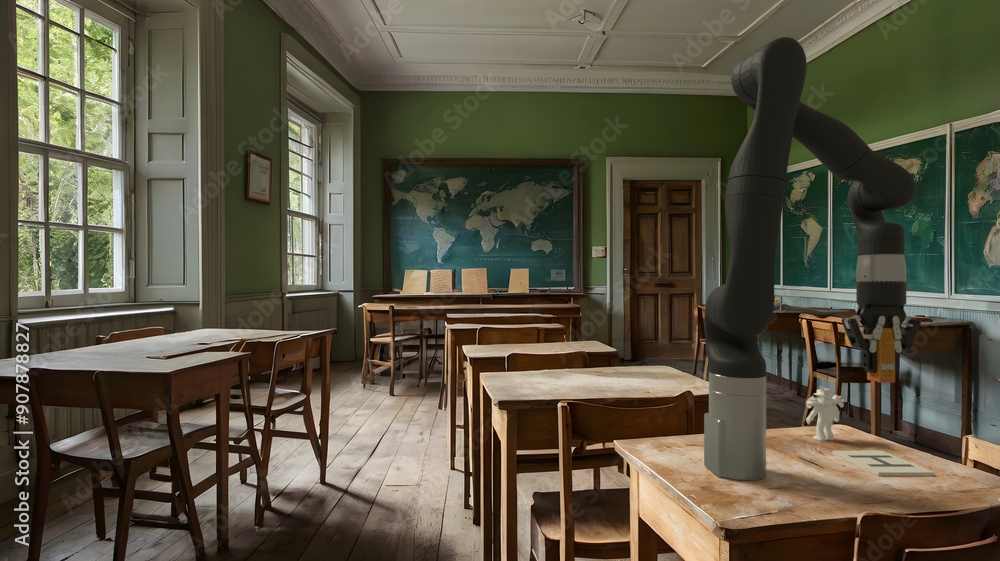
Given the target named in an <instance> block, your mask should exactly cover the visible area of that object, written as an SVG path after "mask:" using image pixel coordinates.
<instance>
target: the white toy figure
mask: <svg viewBox="0 0 1000 561" xmlns="http://www.w3.org/2000/svg"><path fill="white" fill-rule="evenodd" d="M831 390H832V389H831V388H826V387H824V385H818V389H816V392H815V393H813V394H812V395H811V396H810V398H808V399H807V400H805V405H806V407H807V409H811V408H813V409H812V410H811V411H810V413H809V414H808V416H807V417H806V418H805V421H806V423H807V425H810V424H811V422H812V421H814V420H815V418H814V417H816V416H817V421H816V428H815V431H816V435H813V440H816V441H821V442H827V441H834V433H833V431H832V425H833V421H834V422H835V423H839V421H840V410H839V408H838V406H839V407H840V408H844V406H845V403H844V402H845V399H843V398H842V395H838V394H835V393H832V391H831ZM814 395H815V396H814ZM837 405H838V406H837Z"/></svg>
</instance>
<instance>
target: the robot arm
mask: <svg viewBox="0 0 1000 561" xmlns="http://www.w3.org/2000/svg"><path fill="white" fill-rule="evenodd" d="M807 64H808V63H807V56H806V52H805V50H804V48H803V46H802V45H801V43H800V42H799V41H798V40H796V38H792V37H790V36H789V37H787V36H781V37H777V38H776V39H773V40H770V41H769V42H767V43H765V44H764V45H761V46H760V47H759V48H758V49H755V50H754V51H752V52H751V53H749V54H748V55H747V56H745V57H742V59H740V60H739V61H738V62H737V63H736V65H735V66H734V67H733V70H732V73H731V76H730V77H731V78H730V82H731V86H732V87H731V88H732V90H733V91H734V93H735V95H736V96H737V97H738V99H740V100H741V101H742V102H743V104H746V105H747V106H748V107H749V108H751V109H752V110H753V111H754V116H753V118H752V122H751V125H750V127H749V130H748V132H747V133H746V136H745V138H744V140H743V142H742V143H741V145H740V147H739V149H738V151H737V153H736V155H735V158H734V160H733V162H732V164H731V167H730V169H729V174H728V180H727V185H726V192H725V205H724V213H725V220H726V227H727V228H726V229H727V232H728V233H727V234H728V239H729V248H730V255H729V256H730V257H729V264H728V267H727V268H728V269H727V275H726V280H725V284H722V285H719V286H717V287H716V288H714V289H713V290H712V291H711V292H710V293H709V294H708V296H707V298H706V302H705V306H704V346H705V354H706V357H707V362H708V412H705V413H704V416H703V418H704V419H703V422H704V423H703V428H704V429H703V430H704V431H703V434H704V435H703V436H704V437H703V441H704V442H703V465H704V466H705V467H706V469H708V470H710V471H711V472H712V473H713V474H715V475H716V476H717V477H719V478H727V479H728V478H729V479H733V480H738V481H758V480H762V479H764V478H765V477H766V476H767V362H766V360H765V358H764V356H763V355H762V353H761V350H760V348H759V347H760V346H759V342H758V336H759V335H760V334H761V333H763V332H764V331H765V330H767V328H768V326H769V325H770V323H771V322H772V318H773V316H774V310H775V267H776V256H777V255H776V254H777V247H778V242H779V236H780V235H779V234H780V229H781V220H782V214H783V208H784V203H785V202H784V201H785V195H786V194H785V193H786V189H787V188H786V186H787V181H788V180H787V179H788V178H787V176H788V167H789V159H790V154H791V147H792V141H793V139H794V140H796V141H797V142H798V143H799V144H801V145H802V146H803V147H804V148H806V149H807V151H809V152H810V153H811V154H812V155H813V156H814V157H815V158H816V159H817V160H818V161H819V162H820V163H821V164H822V165H823V166H824V167H825V168H826V169H827V170H828V171H829V172H830V173H831V174H832V175H833V176H834V177H835V178H837V179H838V180H841V181H843V182H844V181H846V182H852V183H851V184H850V187H849V189H848V193H847V204H848V205H847V206H848V209H849V210H850V211H849V212H850V215H851V217H852V221H853V223H854V228H855V230H856V232H857V238H858V239H857V262H856V267H855V268H856V271H855V272H856V275H855V276H856V282H855V283H856V284H855V285H856V286H855V287H856V289H855V290H856V292H855V294H856V300H855V301H856V303H857V306H858V307H857V310H856V313H855V315H853V316H850V317H842V318H841V324H842V326H843V328H844V332H845V335H846V337H847V338H848V341H849V344H850V346H851V348H855V349H858V350H860V351H861V355H862V356H861V365H862V369H863V370H864V372H866V373H867V372H869V373H876V372H877V353H874V352H875V351H876V348H877V343H878V341H879V340H880V338H881V333H882V328H892V331H893V335H894V341H895V374H897V373H898V371H900V370H899V369H900V368H901V367H900V366H901V364H900V362H901V360H900V354H901V352H903V351H905V350H908V351H909V350H910V349H911V348H913V344H914V341H915V339H916V337H917V334H918V331H919V329H920V327H921V324H922V321H921V319H919V318H913V317H911V316H908V315H907V313H906V311H905V309H904V308H905V305H907V263H906V257H905V253H906V252H905V242H906V241H905V239H906V238H905V229H904V227H903V225H901V224H900V223H897V222H888V221H886V219H885V216H884V214H883V211H887V210H893V209H899V208H902V207H905V206H907V205H908V204H910V203H912V201H913V200H914V198H915V197H916V194H917V184H916V181H915V179H914V177H913V175H912V174H911V173H910V172H909V171H908V170H907V169H906V168H904V167H903V166H902V165H900V164H899V163H897V162H895V161H893V160H891V159H889V158H888V157H886V156H884V155H883V154H881V153H879V152H877V151H875V150H873V149H872V148H871V147H870V146H869V145H868V144H867V143H866V142H865V141H864V140H863V139H862V138H861V137H860V136H859V135H858V133H857V132H855V130H854V129H852V128H851V127H850V126H849V125H847V124H846V123H845V122H843V121H841V120H839V119H837V118H835V117H833V116H831V115H829V114H825V113H824V112H822V111H819V110H817V109H815V108H813V107H811V106H808V105H806V104H805V103H804V102H802V101H801V97H802V94H803V89H804V85H805V81H806V76H807V70H808V68H807V67H808V65H807ZM861 326H862V328H860V327H861ZM868 333H869V334H872V335H869V334H868Z"/></svg>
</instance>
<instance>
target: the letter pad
mask: <svg viewBox="0 0 1000 561" xmlns="http://www.w3.org/2000/svg"><path fill="white" fill-rule="evenodd" d="M832 455H835V456H836V457H838V458H840V459H842V460H845V461H847V462H849V463H851V464H852V465H855V466H857V467H859V468H861V469H863V470H865V471H867V472H870V473H872V474H874V475H875V476H878V477H894V476H895V477H900V476H901V477H932V476H933V477H935V476H936V474H935V471H933V470H930V469H927V468H925V467H923V466H920V465H917V464H915V463H913V462H910V461H908V460H905V459H903V458H901V457H898V456H895V455H894V454H891V453H888V452H886V451H884V450H832Z"/></svg>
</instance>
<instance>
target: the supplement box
mask: <svg viewBox="0 0 1000 561" xmlns="http://www.w3.org/2000/svg"><path fill="white" fill-rule="evenodd" d="M868 334H869V333H868ZM869 335H872V334H869ZM874 353H877V372H876V373H869V372H866V375H867V376H866V379H867V380H868V381H872V382H877V383H881V384H882V383H883V384H885V383H887V384H889V383H891V384H894V383H896V373H895V341H894V335H893V331H892V328H882V333H881V338H880V340H879V341H878V343H877V348H876V351H875V352H874Z"/></svg>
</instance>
